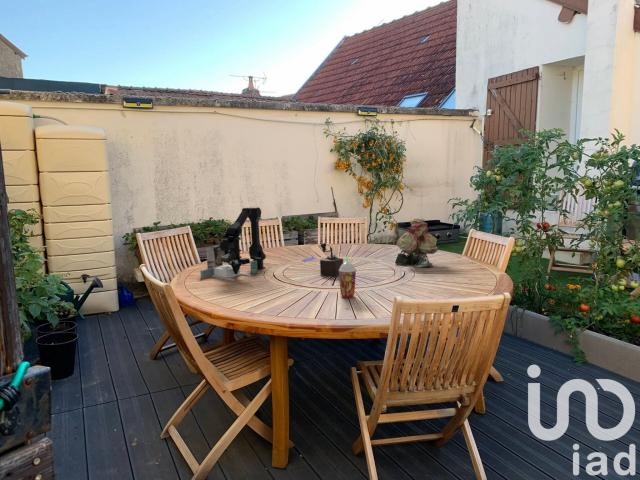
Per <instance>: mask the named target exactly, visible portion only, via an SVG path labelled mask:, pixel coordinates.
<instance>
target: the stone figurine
mask: <svg viewBox="0 0 640 480" xmlns="http://www.w3.org/2000/svg"><path fill="white" fill-rule="evenodd" d="M408 222H409V224H411V226H409V227H407V230H408V232H405V233H403V234H402V235H401V236H400V237H398V239H397V240H396V243H395V245H396V246H397V247H398V248H399V250H401V251H400V253H397V256H396V259H395V266H396V267H402V268H403V267H404V268H405V267H410V268H422V267H423V268H424V267H430V268H434V267H435V266H434V265H433V262H430V261H429V257H428V254H429V255H434V254H436V253H437V252H438V250H439V249H438V246H437V238H436V237H435V236H434V235H432V234H431V233H427V232H428V231H429V227H428V223H427V222H426V219H424V218H421V219H420V218H414V219H412V220H409V221H408Z"/></svg>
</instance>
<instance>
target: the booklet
mask: <svg viewBox="0 0 640 480" xmlns="http://www.w3.org/2000/svg"><path fill="white" fill-rule="evenodd" d="M315 259H318V258H317V257H309V258H305V259H302V260H301V261H304V262H309V261H313V260H315Z"/></svg>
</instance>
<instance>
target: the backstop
mask: <svg viewBox="0 0 640 480" xmlns="http://www.w3.org/2000/svg"><path fill="white" fill-rule="evenodd" d="M225 265H230V264H228V263H226V264H223V265H221V266H225ZM221 266H216V267H212V268H208V269H207V268H204V269H200V279H203V280H204V279H207V278H211V277H212V278H218V279H221V280H229V281H231V282H232V281H233V282H234V281H235V278H232V277H231V278H226V277H221V276H215V275H214V268H217V267H221ZM240 274H241V275H240V276H246V277H251V274H250V273H249V274H248V273H242V272H240Z"/></svg>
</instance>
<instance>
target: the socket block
mask: <svg viewBox="0 0 640 480" xmlns="http://www.w3.org/2000/svg"><path fill="white" fill-rule="evenodd" d="M224 265H225V264H224ZM240 273H241V267H240V268H239V271H238V273H237V274H235V273H234V271H233V268H232V266H231V265H225V266H221V267H217V268H214V275H215V276H221V277H226V278H231V279H232V278H235V277H238V276H242V275H241V274H240Z"/></svg>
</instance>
